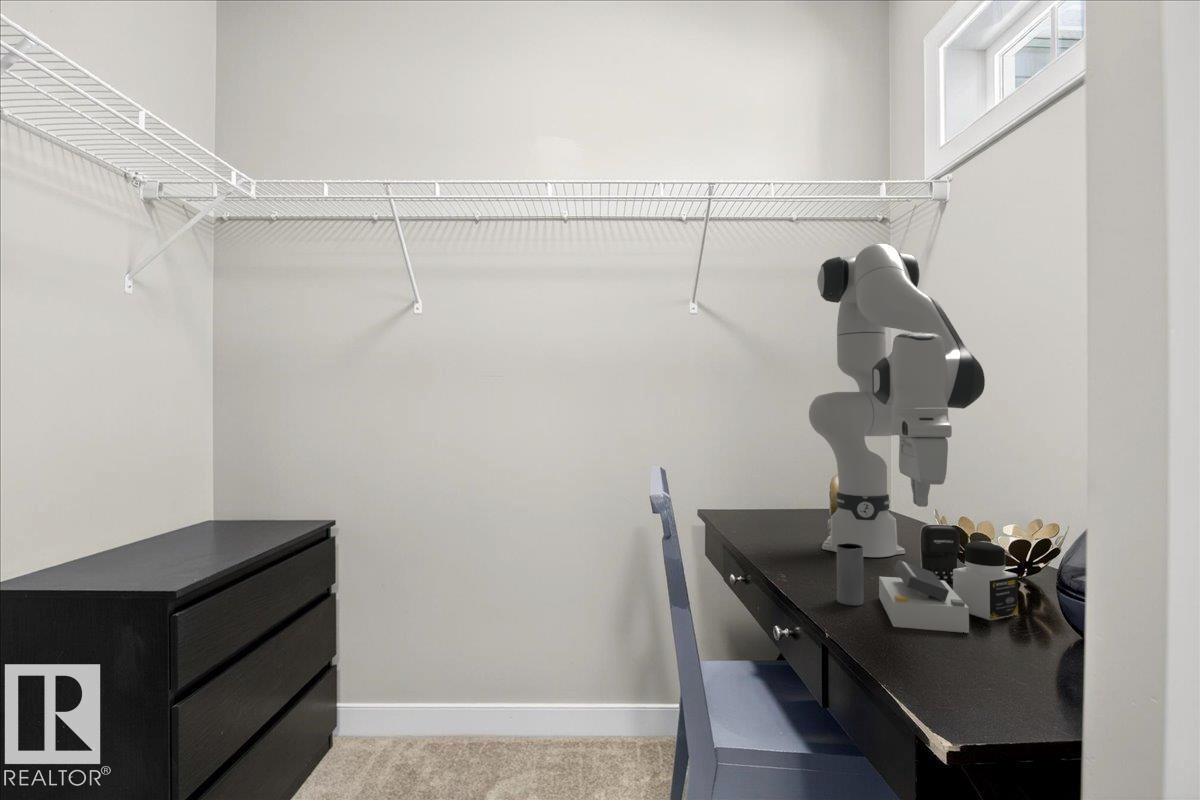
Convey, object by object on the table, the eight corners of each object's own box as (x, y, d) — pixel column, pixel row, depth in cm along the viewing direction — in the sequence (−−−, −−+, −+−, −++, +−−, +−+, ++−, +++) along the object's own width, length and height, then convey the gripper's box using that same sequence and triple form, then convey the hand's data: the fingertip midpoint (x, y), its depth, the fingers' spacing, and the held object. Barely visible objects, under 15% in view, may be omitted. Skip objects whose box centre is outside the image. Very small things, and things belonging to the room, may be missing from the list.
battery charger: (925, 583, 130) (924, 526, 130) (918, 578, 134) (918, 523, 134) (962, 584, 129) (962, 527, 129) (955, 579, 133) (954, 524, 133)
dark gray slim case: (894, 568, 118) (898, 558, 118) (929, 581, 117) (932, 571, 117) (906, 587, 107) (910, 576, 107) (945, 601, 105) (949, 589, 105)
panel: (879, 597, 121) (879, 572, 121) (944, 602, 118) (944, 576, 118) (893, 626, 105) (893, 597, 105) (968, 632, 102) (968, 602, 102)
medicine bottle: (990, 621, 108) (990, 549, 108) (952, 608, 114) (951, 541, 114) (1018, 615, 111) (1018, 545, 111) (979, 603, 117) (979, 537, 117)
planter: (865, 606, 116) (865, 549, 116) (839, 605, 117) (838, 548, 117) (860, 599, 120) (860, 543, 120) (835, 597, 121) (834, 542, 121)
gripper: (889, 424, 123) (890, 497, 122) (910, 426, 103) (911, 513, 103) (926, 423, 121) (927, 498, 121) (954, 426, 101) (956, 515, 101)
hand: (920, 505), depth 111 cm, fingers closed
